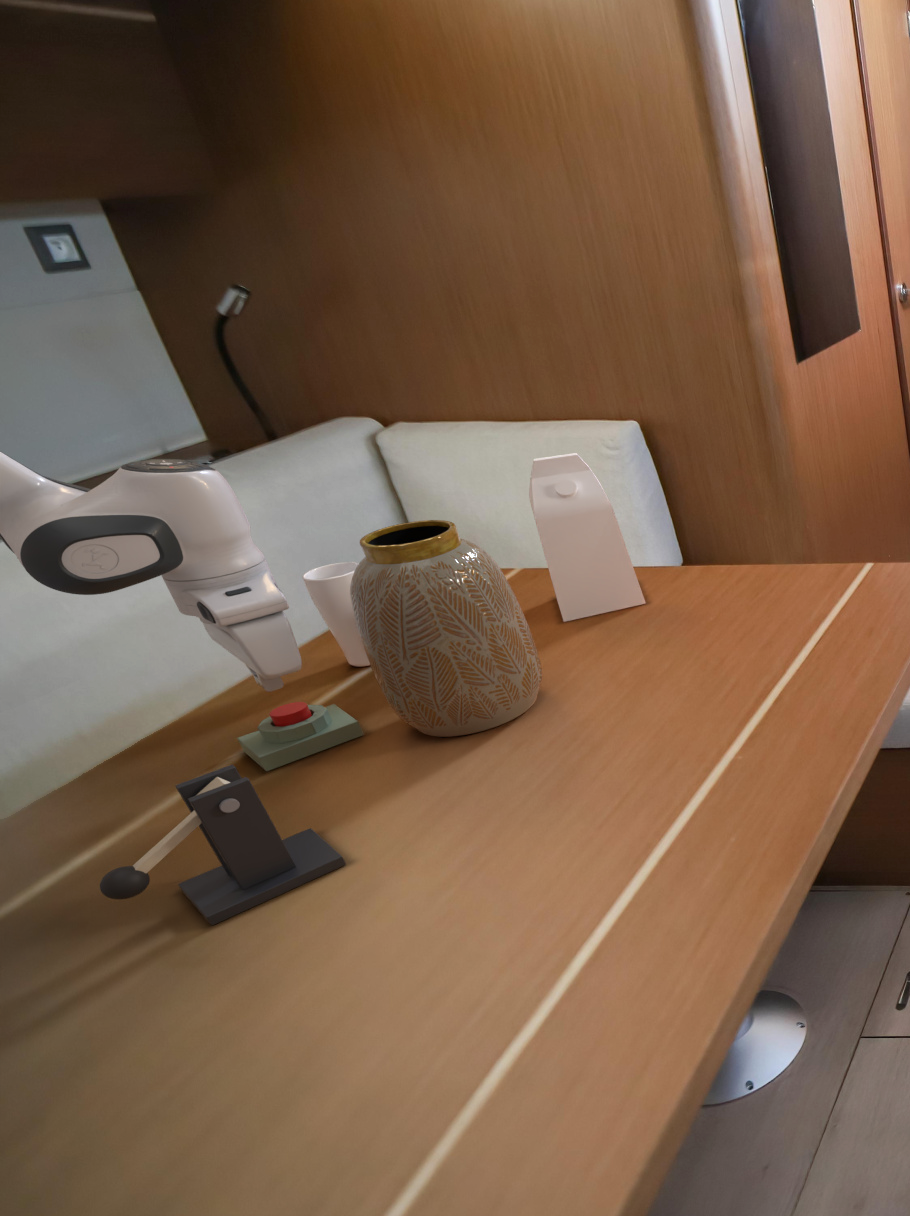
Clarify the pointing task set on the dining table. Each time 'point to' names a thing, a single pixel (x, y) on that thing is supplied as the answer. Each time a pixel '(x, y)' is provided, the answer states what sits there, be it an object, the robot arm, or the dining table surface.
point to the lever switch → (150, 857)
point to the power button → (290, 714)
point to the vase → (443, 630)
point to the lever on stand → (247, 849)
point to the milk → (581, 539)
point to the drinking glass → (337, 607)
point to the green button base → (299, 737)
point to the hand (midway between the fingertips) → (271, 686)
